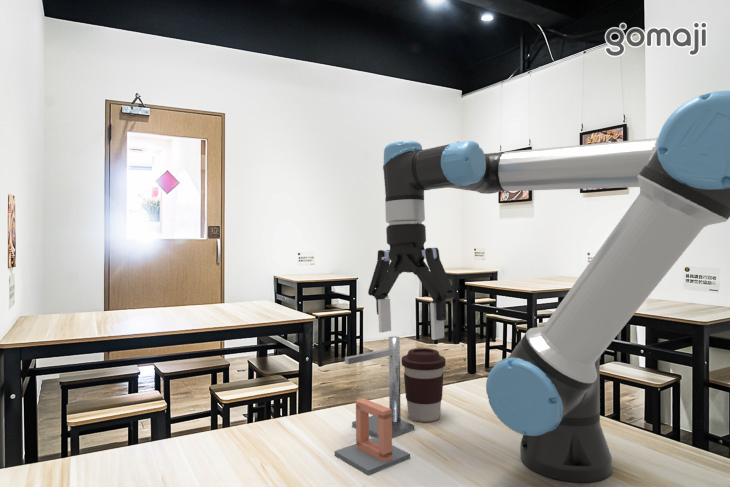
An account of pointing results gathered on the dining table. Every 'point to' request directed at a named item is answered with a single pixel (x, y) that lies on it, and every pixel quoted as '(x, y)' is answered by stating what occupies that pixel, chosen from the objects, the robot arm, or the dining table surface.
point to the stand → (394, 387)
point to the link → (384, 429)
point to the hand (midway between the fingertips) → (410, 334)
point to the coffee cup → (423, 383)
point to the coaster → (369, 458)
